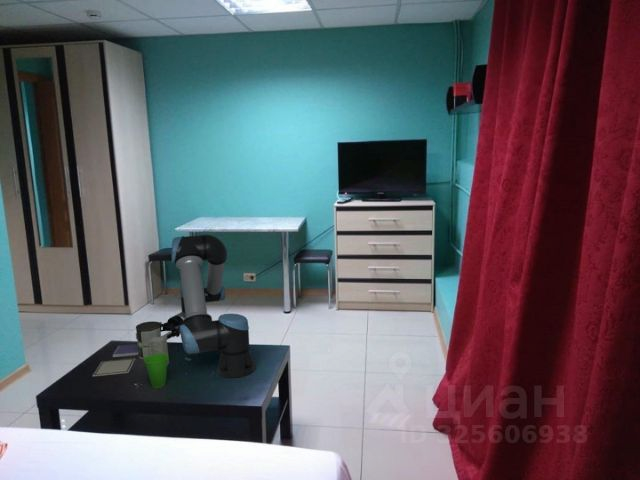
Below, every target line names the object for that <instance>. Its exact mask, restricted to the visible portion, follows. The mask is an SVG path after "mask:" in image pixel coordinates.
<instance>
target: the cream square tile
mask: <svg viewBox="0 0 640 480" xmlns="http://www.w3.org/2000/svg"><path fill="white" fill-rule="evenodd" d="M135 360H136V358H135V357H134V358H123V359H113V360H104V361H102V360H101V362H100V363H99V365H98V366H97V368H96V370H95V372H94V373H93V374H92V377H101V376H110V375H119V374H128V373H129V372H130V371H131V369H132V367H133V364H134V363H135Z"/></svg>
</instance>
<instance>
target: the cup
mask: <svg viewBox="0 0 640 480" xmlns="http://www.w3.org/2000/svg"><path fill="white" fill-rule="evenodd" d="M168 358H169V359H170V357H169V354H168V355H167V354H153V355H150V356H148V357H146V358H145V359H143V362H144V363H145V367H146V371H147V374H148V379H149V381H150V384H151V386H152V388H154V389H156V388H157V389H158V388H163V387H164V386H165V385H166V383H167V371H168V370H167V369H168V365H167V361H168Z"/></svg>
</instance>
